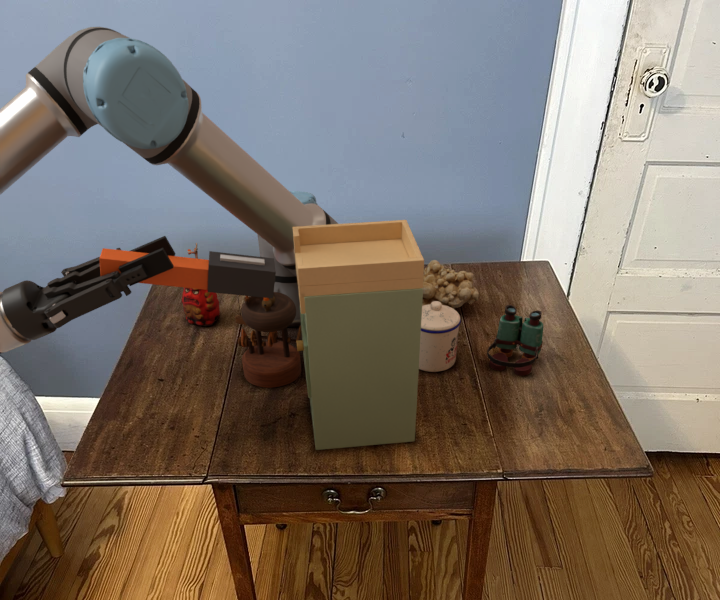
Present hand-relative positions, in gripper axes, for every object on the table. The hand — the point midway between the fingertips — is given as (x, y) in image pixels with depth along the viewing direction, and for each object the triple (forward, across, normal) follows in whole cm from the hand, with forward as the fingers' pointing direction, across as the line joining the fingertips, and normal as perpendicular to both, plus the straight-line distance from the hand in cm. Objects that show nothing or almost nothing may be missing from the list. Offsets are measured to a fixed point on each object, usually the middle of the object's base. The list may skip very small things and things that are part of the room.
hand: (168, 251), depth 91 cm
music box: (+2, +16, +33) cm, 37 cm away
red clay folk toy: (-11, +38, +29) cm, 49 cm away
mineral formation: (+36, +34, +45) cm, 67 cm away
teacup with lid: (+30, +16, +43) cm, 54 cm away
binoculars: (+42, +10, +47) cm, 64 cm away
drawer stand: (+14, -1, +37) cm, 40 cm away
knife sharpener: (0, 0, +5) cm, 5 cm away
